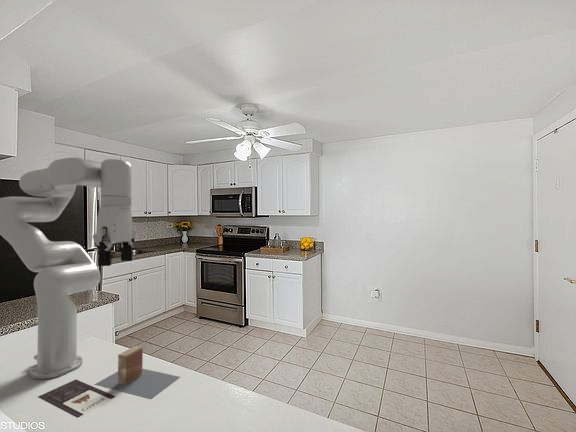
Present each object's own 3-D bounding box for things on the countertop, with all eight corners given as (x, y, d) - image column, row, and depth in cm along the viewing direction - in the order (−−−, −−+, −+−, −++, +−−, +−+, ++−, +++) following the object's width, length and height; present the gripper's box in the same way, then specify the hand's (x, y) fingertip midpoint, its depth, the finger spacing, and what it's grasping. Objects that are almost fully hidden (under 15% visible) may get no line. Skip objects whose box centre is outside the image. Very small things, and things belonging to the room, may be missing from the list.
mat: (94, 386, 80) (94, 384, 80) (128, 367, 90) (128, 365, 90) (151, 401, 73) (151, 399, 73) (180, 378, 84) (180, 376, 84)
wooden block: (118, 383, 80) (118, 354, 80) (135, 372, 86) (136, 345, 86) (125, 385, 79) (125, 355, 79) (142, 374, 85) (143, 346, 85)
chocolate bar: (75, 379, 82) (115, 396, 74) (75, 382, 82) (115, 399, 74) (37, 396, 74) (77, 417, 66) (37, 400, 74) (77, 421, 66)
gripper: (122, 205, 92) (122, 259, 91) (80, 201, 74) (80, 268, 74) (145, 204, 91) (145, 259, 91) (109, 201, 74) (109, 267, 74)
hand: (116, 263), depth 82 cm, fingers open, 9 cm apart
